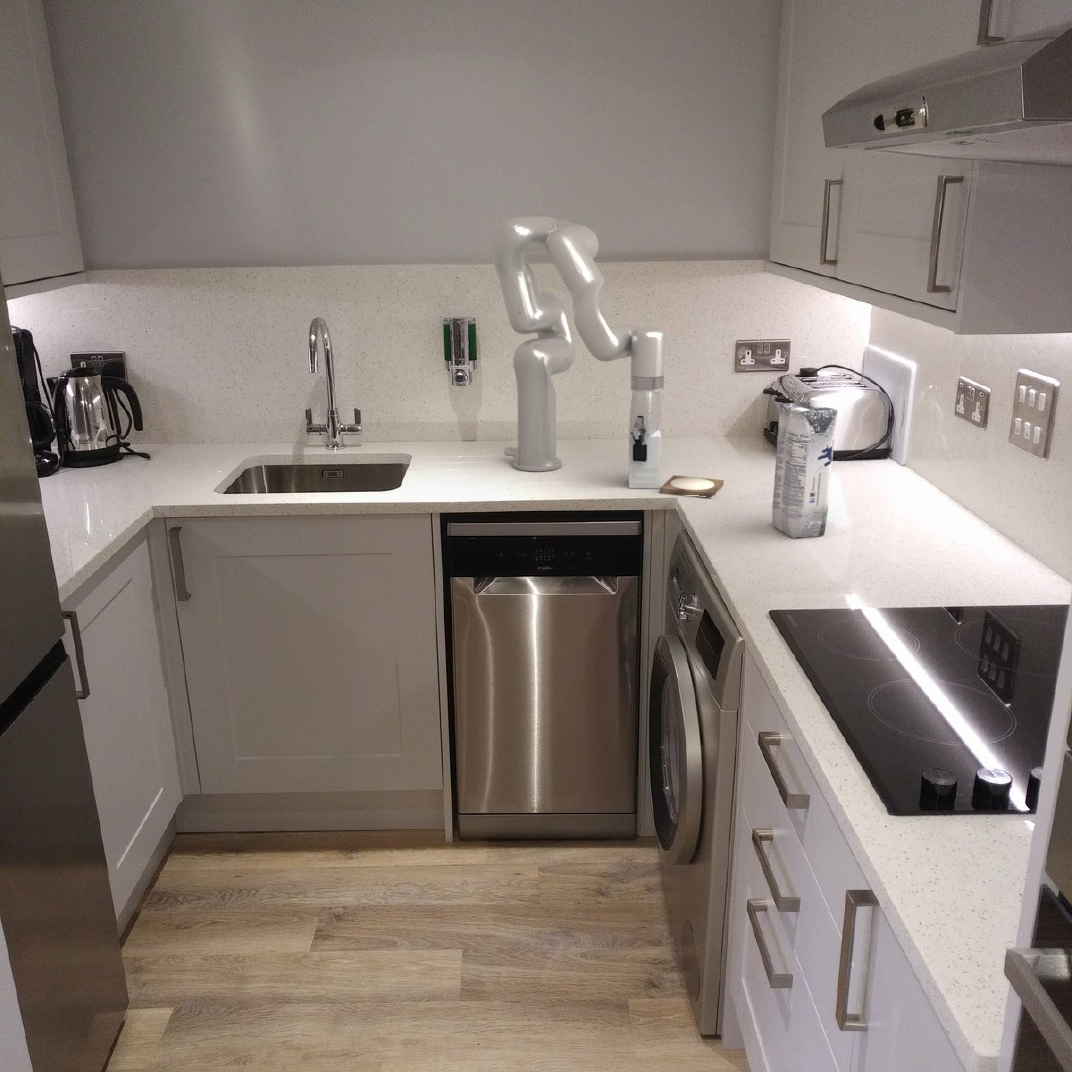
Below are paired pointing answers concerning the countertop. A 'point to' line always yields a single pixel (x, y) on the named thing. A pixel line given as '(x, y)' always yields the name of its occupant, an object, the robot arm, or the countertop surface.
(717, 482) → the board
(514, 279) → the robot arm
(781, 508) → the juice carton
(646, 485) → the supplement box
